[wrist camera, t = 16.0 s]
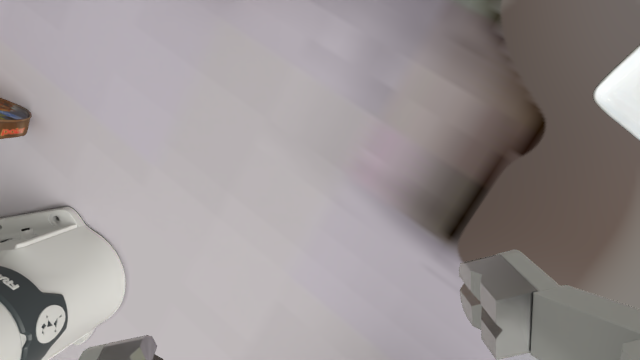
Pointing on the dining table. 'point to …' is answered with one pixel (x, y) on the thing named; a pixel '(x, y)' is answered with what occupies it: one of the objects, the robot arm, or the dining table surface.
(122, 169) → the dining table surface
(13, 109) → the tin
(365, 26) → the dining table surface
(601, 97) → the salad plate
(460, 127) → the dining table surface
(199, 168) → the dining table surface
